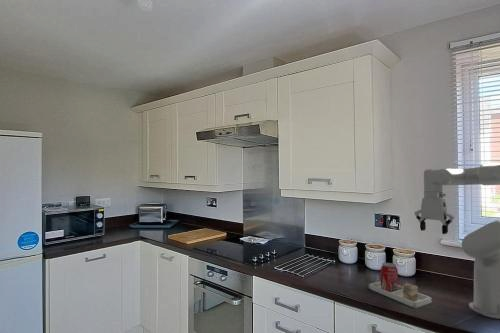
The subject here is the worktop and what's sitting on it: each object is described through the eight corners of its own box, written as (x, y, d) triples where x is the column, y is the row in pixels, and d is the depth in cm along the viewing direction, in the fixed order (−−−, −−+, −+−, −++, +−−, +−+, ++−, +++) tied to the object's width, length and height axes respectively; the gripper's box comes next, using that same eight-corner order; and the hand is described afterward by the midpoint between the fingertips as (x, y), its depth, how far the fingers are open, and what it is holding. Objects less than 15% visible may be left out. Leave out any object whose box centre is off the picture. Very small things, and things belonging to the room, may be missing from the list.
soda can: (383, 286, 143) (383, 261, 143) (399, 290, 138) (399, 264, 138) (378, 291, 137) (378, 264, 137) (395, 295, 133) (395, 268, 133)
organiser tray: (431, 303, 127) (431, 297, 127) (415, 309, 121) (415, 303, 121) (385, 285, 146) (385, 280, 146) (368, 289, 140) (368, 284, 140)
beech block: (417, 300, 128) (417, 286, 128) (411, 302, 126) (411, 288, 126) (408, 296, 131) (408, 283, 132) (402, 298, 130) (403, 284, 130)
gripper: (457, 196, 136) (458, 234, 135) (419, 194, 151) (419, 228, 150) (449, 196, 132) (449, 236, 132) (410, 194, 147) (410, 229, 146)
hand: (433, 232), depth 141 cm, fingers open, 9 cm apart
